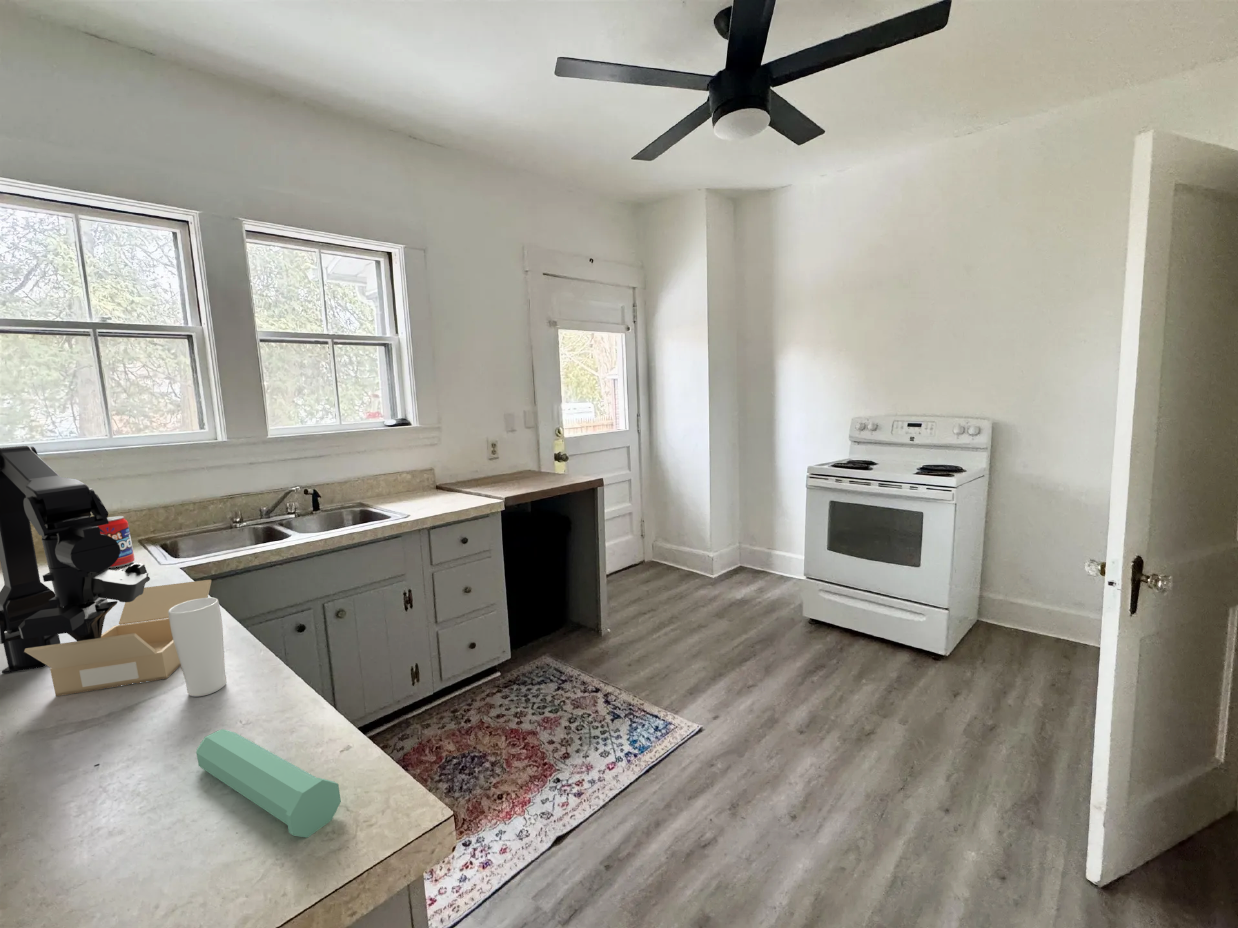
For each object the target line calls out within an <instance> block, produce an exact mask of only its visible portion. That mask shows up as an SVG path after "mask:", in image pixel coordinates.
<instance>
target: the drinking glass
mask: <svg viewBox="0 0 1238 928" xmlns="http://www.w3.org/2000/svg"><path fill="white" fill-rule="evenodd" d="M168 613H169V622H170V629H171V633H172V638H173V641H174V645H175V648H176V651H177V655H178V658H179V661H180V667H181V670H182V675H183V679H184V680H185V681H184V682H185V684H186V685H185V686H186V687H185V688H186V691H187V694H188V695H189V696H191V697H198V698H199V697H203V696H208V695H211V694H213V693H215V692H218V691H219V690H221V689H223V688H224V686H225V685H226V684H227V675H226V666H225V665H226V664H225V663H226V661H225V647H224V628H223V627H224V626H223V618H222V611H221V606H220V602H219V598H216V597H208V598H200V599H195V600H190V601H187V602H183V603H180V604H178V605H176V606H174V607H172V608H170V609H169V611H168Z"/></svg>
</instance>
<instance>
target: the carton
mask: <svg viewBox="0 0 1238 928" xmlns="http://www.w3.org/2000/svg"><path fill="white" fill-rule="evenodd" d="M133 633H135V634H137V635H138V636H139V637H140V638H141V639H143V640H144V641H145V642H146V643H147V644H149V645H150V646H151V647H152V648H153V649H155V650H156V651H157V653H156V654H154V655H147V656H140V657H133V658H127V659H120V660H113V661H107V662H100V663H93V664H86V665H80V666H73V667H66V668H60V669H52V668H49V670H50V675H51V680H52V684H53V689H54V694H55V697H61V696H62V697H63V696H66V695H73V694H74V693H75V694H80V692H81V693H87V692H92V691H93V690H94V691H100V690H105V689H104V688H106V689H111V687H112V688H117V687H118V686H119V687H122V686H121V685H125V686H129V685H128V684H131V685H133V684H132V683H137V684H141V683H140V682H144V683H147V682H146V681H150V682H155V681H161V679H162V680H167V679H168V678H169V677H171V675H172V674H173V673H175V671H176V670H178V668H180V667H181V665H180V661H179V658H178V655H177V651H176V648H175V645H174V641H173V638H172V633H171V629H170V622H169V618H166V619H158V620H151V621H143V622H136V623H129V624H121V625H120V624H117V625H113V626H112V627H110V628H108V630H106V631H104V632H102V635H101V638H104V637H111V636H119V635H126V634H133Z"/></svg>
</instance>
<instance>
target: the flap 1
mask: <svg viewBox="0 0 1238 928" xmlns="http://www.w3.org/2000/svg"><path fill="white" fill-rule="evenodd" d="M24 652H26V653H27V654H29V655H31V656H32V657H34V658H36V659H37V660H39V661H41V662H42V663H44V664H46V666H48V667H49V669H51V668H52V669H60V668H66V667H73V666H80V665H86V664H93V663H100V662H107V661H113V660H120V659H127V658H133V657H140V656H147V655H154V654H156V653H157V651H156V650H155V649H153V648H152V647H151V646H150V645H149V644H147V643H146V642H145V641H144V640H143V639H141V638H140V637H139V636H138V635H137V634H135V633H133V634H126V635H119V636H111V637H104V638H97V639H90V640H83V641H76V640H75V641H71V642H62V643H61V642H60V644H54V645H47V646H40V647H33V648H26V649H25V651H24Z"/></svg>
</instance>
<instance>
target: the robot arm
mask: <svg viewBox="0 0 1238 928" xmlns="http://www.w3.org/2000/svg"><path fill="white" fill-rule="evenodd" d="M105 506H106V505H104V503H103V502H102V500H101V498H100V497H99V495H98V494H97V493H96V492H95V491H94V489H93V488H91V487H89V486H88V485H87V484H86V483H83V482H82V481H81V480H79V479H77V478H70V477H63V476H60V474H58V473H57V472H56V471H55V470H54V469H53V468H52V467H50V465H49V464H47V463H46V462H45V460H43V459H42V458H41V457H40V456H39V454H38V451H37V449H36V447H34V446H29V445H19V446H17V445H16V446H5V447H0V567H1V573H2V577H3V582H4V585H3V587H2V588H1V590H0V644H1V645H3V649H4V653H5V657H6V662H7V667H6V668H3V669H2V670H1V673H2V674H8V673H15V672H19V671H20V672H21V671H27V670H35V669H39V668H40V669H42V668H45V667H46V666H47V665H46V664H44V663H42V662H41V661H39V660H37V659H36V658H34V657H32V656H31V655H29V654H27V653H26V652H24V651H25V649H26V648H33V647H40V646H47V645H54V644H61V640H60V635H63V634H67V635H69V636H70V637H71V638H73V640H75V642H76V641H83V640H90V639H97V638H101V635H102V634H103V629H104V623H105V619H106V615H107V614H108V613H109V612H110V611H111V610H112V609H113V608H115V606H116V605H117V604H118V601H119V602H120V603H125V602H132V601H133V600H135V598H136V597H138V596H139V595H142V594H143V591H144V588H145V586H146V584H147V583H148V582H149V581H150V580H151V578H150V576H149V572H148V571H147V568H146V566H145V564H144V563H140V562H139V563H138V562H133V563H131V564H129V565H128V567H127V568H126V569H125V570H124V568H120V569H118V570H114V569H109V567H110V566H112V565H113V564H114V563H115V562H116V561H117V559H118V557H119V554H120V546H119V545H118V543H117V542H116V540H114V539H113V538H112V537H109V536H107V535H103V534H100V528H99V527H98V526H100V525H105V524H108V523H109V522H108V519H107V518H108V517H109V512H108V510H107V508H106V507H105ZM31 525H32V526H33V528H34V529H35V531H36V532H37V534H38V535H39V536H41V542H42V546H43V551H44V555H45V559H46V563H47V567H48V570H49V572H48V573H45V574H43V575H42V580H43V582H41V578H40V574H39V573H40V571H39V568H38V567H39V566H38V561H37V554H36V549H35V548H36V547H35V545H34V537H33V532H32V526H31ZM44 582H45V583H46V582H51V584H52V587H53V590H54V591H53V590H52V589H50V588H49V587H47V585H46V584H44ZM108 600H114V601H108Z"/></svg>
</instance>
